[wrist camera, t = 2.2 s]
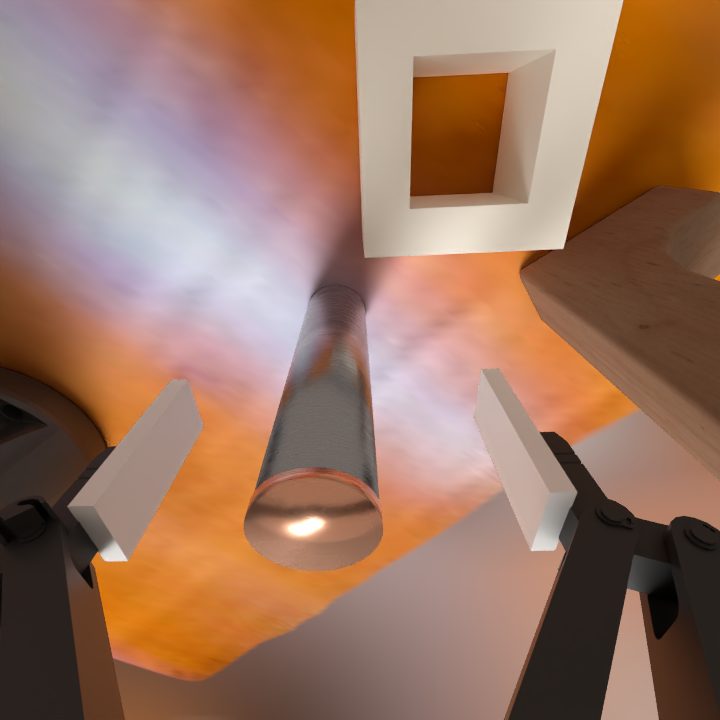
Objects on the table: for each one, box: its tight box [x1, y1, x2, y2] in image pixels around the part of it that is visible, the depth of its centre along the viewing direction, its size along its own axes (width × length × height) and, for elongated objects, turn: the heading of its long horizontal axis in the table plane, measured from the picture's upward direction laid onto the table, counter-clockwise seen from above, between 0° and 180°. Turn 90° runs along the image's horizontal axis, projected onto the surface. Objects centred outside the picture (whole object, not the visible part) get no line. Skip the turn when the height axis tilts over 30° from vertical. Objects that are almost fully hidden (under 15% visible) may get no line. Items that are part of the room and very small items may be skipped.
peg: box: [244, 285, 383, 571], centre depth 18 cm, size 4×4×17 cm
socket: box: [355, 0, 623, 258], centre depth 18 cm, size 10×10×5 cm
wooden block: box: [520, 186, 720, 480], centre depth 16 cm, size 9×4×18 cm, turn 126°
